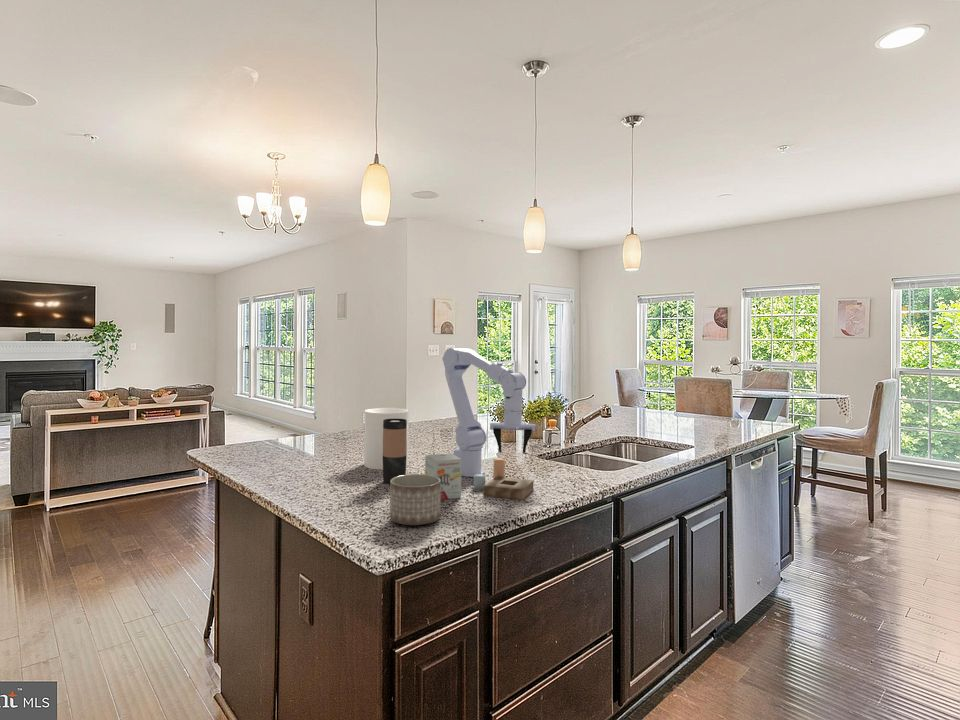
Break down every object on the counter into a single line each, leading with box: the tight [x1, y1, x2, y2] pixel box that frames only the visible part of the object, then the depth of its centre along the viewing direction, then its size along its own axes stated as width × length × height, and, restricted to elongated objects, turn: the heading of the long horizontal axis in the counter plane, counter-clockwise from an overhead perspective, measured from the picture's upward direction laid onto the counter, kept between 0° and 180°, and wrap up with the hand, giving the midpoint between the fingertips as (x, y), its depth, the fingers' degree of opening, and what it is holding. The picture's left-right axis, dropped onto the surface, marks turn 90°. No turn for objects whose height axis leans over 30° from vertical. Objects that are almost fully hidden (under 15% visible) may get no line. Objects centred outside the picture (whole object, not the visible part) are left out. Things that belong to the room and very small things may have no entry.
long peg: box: [492, 457, 506, 479], centre depth 173 cm, size 4×4×8 cm
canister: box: [363, 407, 410, 471], centre depth 198 cm, size 16×16×20 cm
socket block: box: [483, 476, 534, 501], centre depth 163 cm, size 12×12×3 cm
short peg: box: [473, 474, 486, 491], centre depth 167 cm, size 4×4×4 cm
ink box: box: [424, 452, 462, 501], centre depth 159 cm, size 9×9×12 cm
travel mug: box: [382, 419, 407, 485], centre depth 174 cm, size 8×8×20 cm
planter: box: [389, 473, 441, 526], centre depth 136 cm, size 13×13×10 cm
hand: (512, 452), depth 173 cm, fingers open, 7 cm apart
